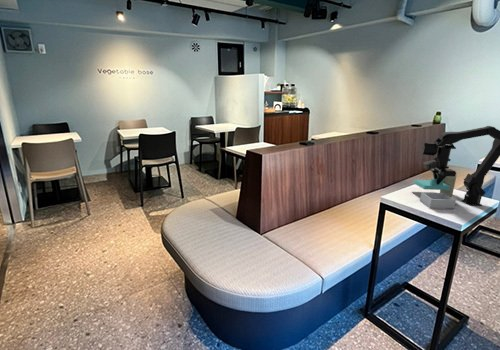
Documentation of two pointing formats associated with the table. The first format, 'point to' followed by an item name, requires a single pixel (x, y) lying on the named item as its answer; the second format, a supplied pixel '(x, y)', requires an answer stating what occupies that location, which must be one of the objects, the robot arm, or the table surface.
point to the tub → (437, 200)
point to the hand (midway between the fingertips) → (436, 183)
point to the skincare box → (450, 182)
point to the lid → (431, 184)
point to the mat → (420, 193)
